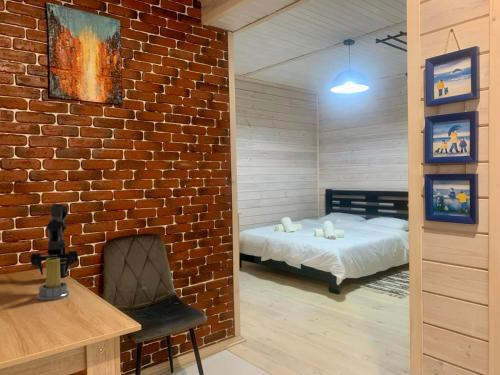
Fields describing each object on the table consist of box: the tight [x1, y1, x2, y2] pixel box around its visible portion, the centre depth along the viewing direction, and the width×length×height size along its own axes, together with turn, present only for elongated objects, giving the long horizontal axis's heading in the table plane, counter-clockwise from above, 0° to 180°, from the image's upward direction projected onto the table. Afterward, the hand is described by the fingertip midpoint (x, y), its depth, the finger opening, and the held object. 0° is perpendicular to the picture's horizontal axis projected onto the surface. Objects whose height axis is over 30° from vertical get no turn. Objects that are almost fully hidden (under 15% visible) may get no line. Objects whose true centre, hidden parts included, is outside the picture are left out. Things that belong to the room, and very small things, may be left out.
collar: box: [36, 281, 70, 302], centre depth 160 cm, size 12×12×4 cm
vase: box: [45, 257, 62, 288], centre depth 160 cm, size 6×6×14 cm
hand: (54, 274), depth 165 cm, fingers open, 9 cm apart
